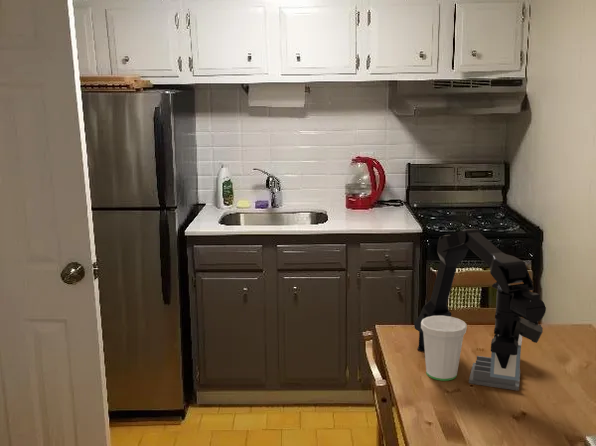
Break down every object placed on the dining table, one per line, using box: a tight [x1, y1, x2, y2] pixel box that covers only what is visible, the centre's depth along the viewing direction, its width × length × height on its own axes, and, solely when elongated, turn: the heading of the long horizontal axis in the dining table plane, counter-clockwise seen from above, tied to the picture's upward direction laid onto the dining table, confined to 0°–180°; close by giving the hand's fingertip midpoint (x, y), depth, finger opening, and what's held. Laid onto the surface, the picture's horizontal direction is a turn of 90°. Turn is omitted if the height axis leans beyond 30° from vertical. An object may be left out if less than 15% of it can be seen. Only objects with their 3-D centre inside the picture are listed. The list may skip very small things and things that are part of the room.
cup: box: [421, 316, 468, 382], centre depth 181 cm, size 12×12×15 cm
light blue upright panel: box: [490, 344, 522, 381], centre depth 165 cm, size 7×2×9 cm, turn 70°
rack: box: [468, 355, 521, 392], centre depth 179 cm, size 13×12×4 cm
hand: (504, 366), depth 166 cm, fingers closed on light blue upright panel, 2 cm apart
